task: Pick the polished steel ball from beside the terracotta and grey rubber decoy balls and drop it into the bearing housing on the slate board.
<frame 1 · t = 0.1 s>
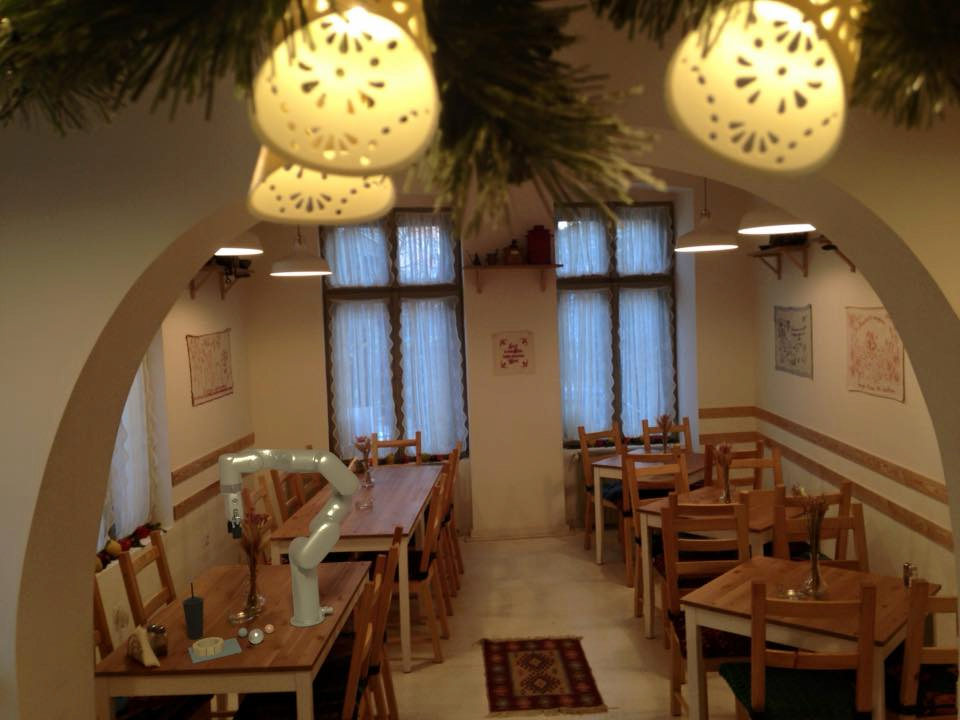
hand: (234, 535, 298), 37 cm above the table, tool pointing down, fingers open, 9 cm apart
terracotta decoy: (269, 628, 300), point 2 cm above the table
steel ball: (256, 636, 291), point 2 cm above the table
rubber decoy: (242, 632, 298), point 2 cm above the table
drinking cup: (195, 637, 301), on the table
bearing housing: (214, 651, 286), on the table
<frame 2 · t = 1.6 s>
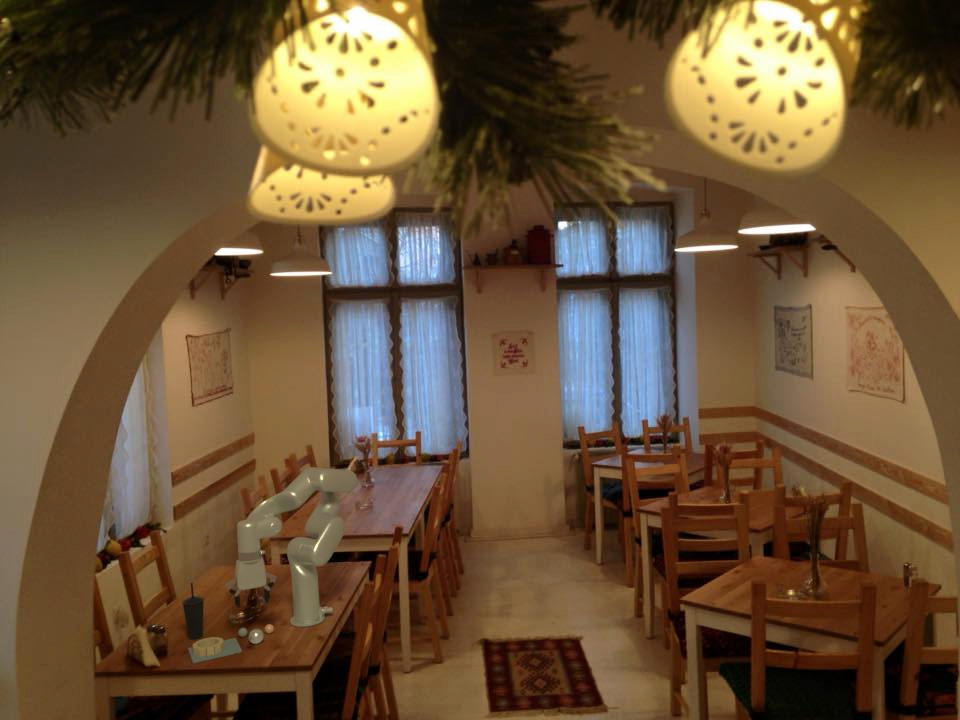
hand: (252, 603, 290), 14 cm above the table, tool pointing down, fingers open, 9 cm apart
nothing on the table moved.
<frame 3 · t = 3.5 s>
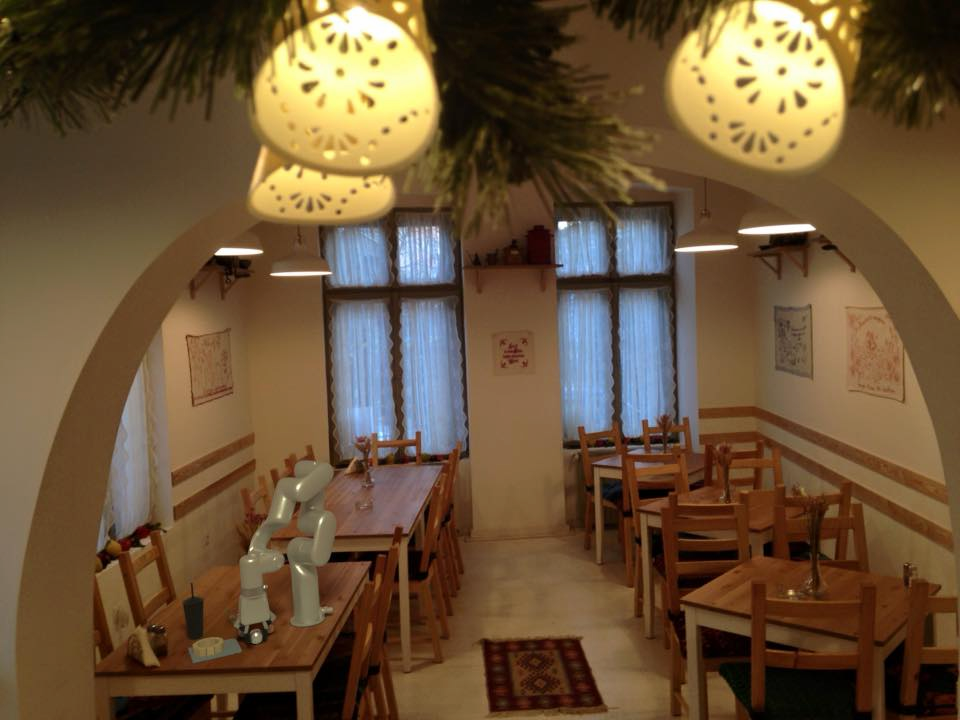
hand: (256, 640, 291), 1 cm above the table, tool pointing down, fingers closed on steel ball, 5 cm apart
steel ball: (256, 636, 291), point 2 cm above the table, touching gripper
everything else where it was.
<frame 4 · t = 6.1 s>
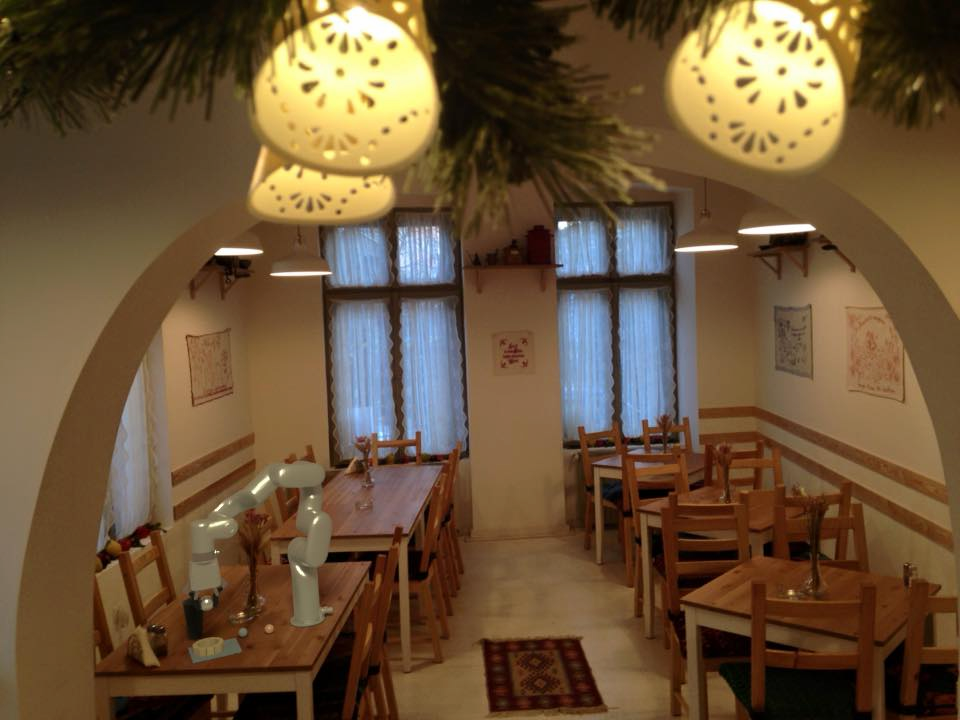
hand: (206, 607, 285), 16 cm above the table, tool pointing down, fingers closed on steel ball, 5 cm apart
steel ball: (206, 603, 284), point 17 cm above the table, touching gripper
everything else where it was.
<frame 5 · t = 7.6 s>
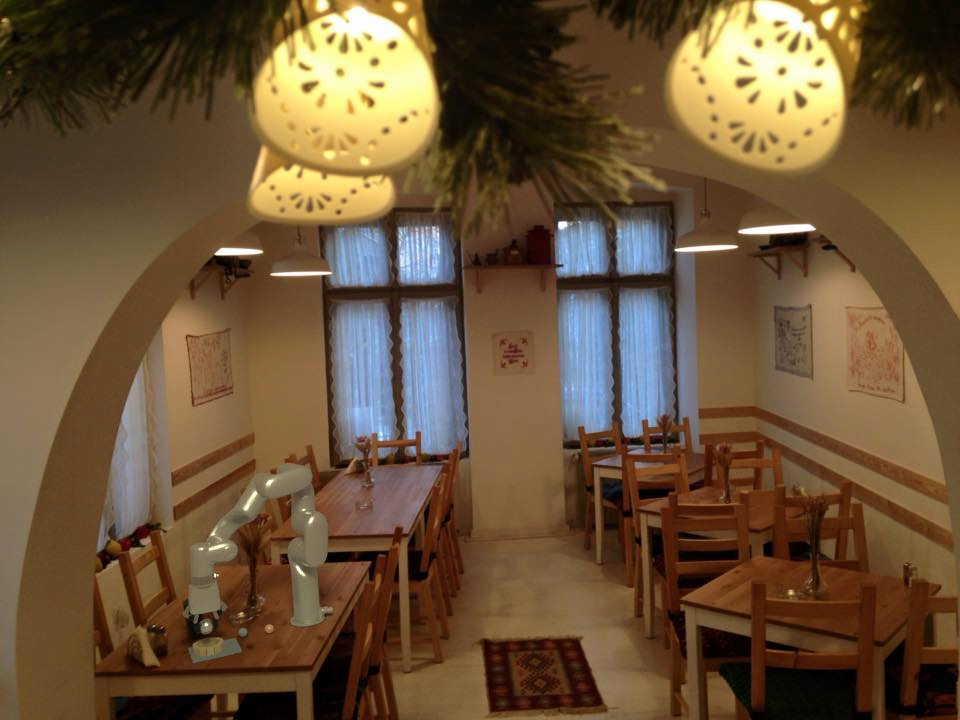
hand: (206, 631, 285), 8 cm above the table, tool pointing down, fingers closed on steel ball, 5 cm apart
steel ball: (206, 626, 285), point 9 cm above the table, touching gripper
everything else where it was.
when the fingers open (5 cm above the table, at t = 9.0 s): steel ball drops 3 cm, resting on bearing housing.
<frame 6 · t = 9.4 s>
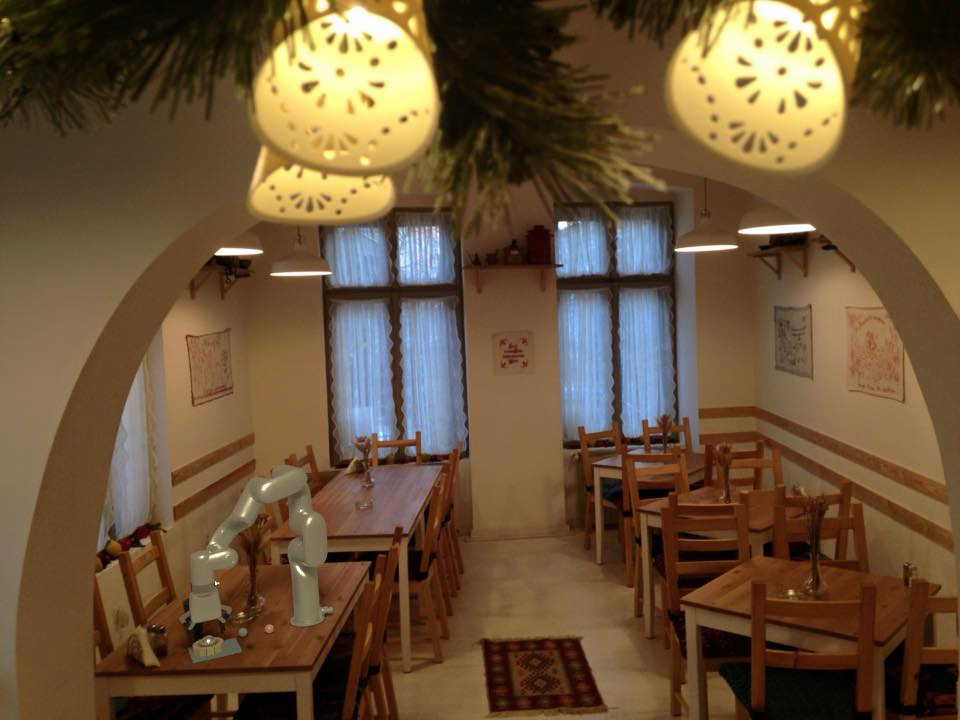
hand: (207, 636, 285), 6 cm above the table, tool pointing down, fingers open, 9 cm apart
steel ball: (208, 643, 285), point 3 cm above the table, touching bearing housing
everything else where it was.
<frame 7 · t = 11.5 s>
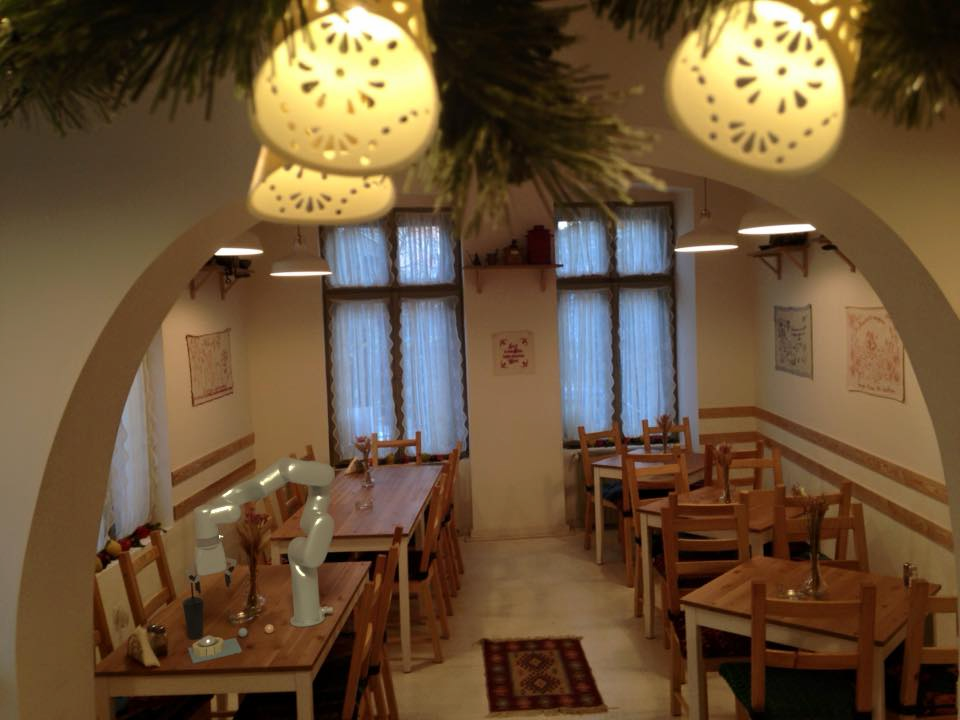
hand: (213, 589, 289), 21 cm above the table, tool pointing down, fingers open, 9 cm apart
nothing on the table moved.
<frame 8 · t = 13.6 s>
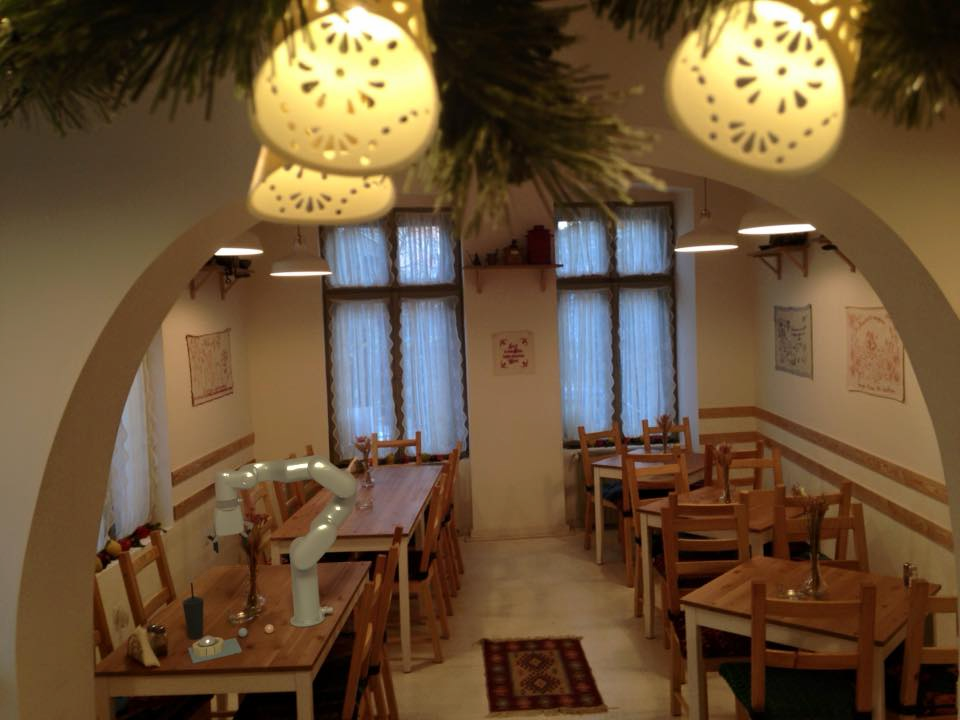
hand: (230, 550, 302), 30 cm above the table, tool pointing down, fingers open, 9 cm apart
nothing on the table moved.
at the end: steel ball 0.2 cm from the target spot on the bearing housing, point 3.5 cm above the bearing housing's base; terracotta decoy moved 0.0 cm from its start; rubber decoy moved 0.0 cm from its start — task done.
